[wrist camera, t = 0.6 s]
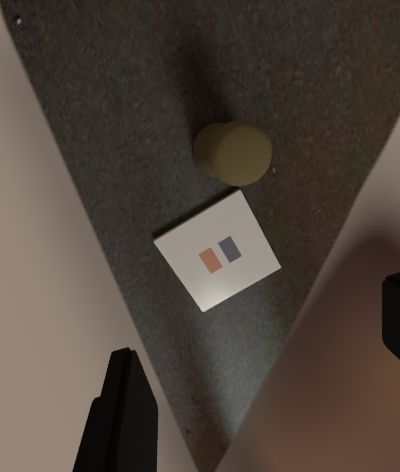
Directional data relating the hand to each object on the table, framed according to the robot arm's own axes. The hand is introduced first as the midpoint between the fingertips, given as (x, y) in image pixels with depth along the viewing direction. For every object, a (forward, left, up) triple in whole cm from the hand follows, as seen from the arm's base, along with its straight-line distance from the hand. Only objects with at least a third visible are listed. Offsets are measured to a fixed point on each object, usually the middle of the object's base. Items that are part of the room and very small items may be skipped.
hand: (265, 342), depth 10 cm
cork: (-5, -4, -25) cm, 25 cm away
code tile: (+1, +7, -24) cm, 25 cm away
